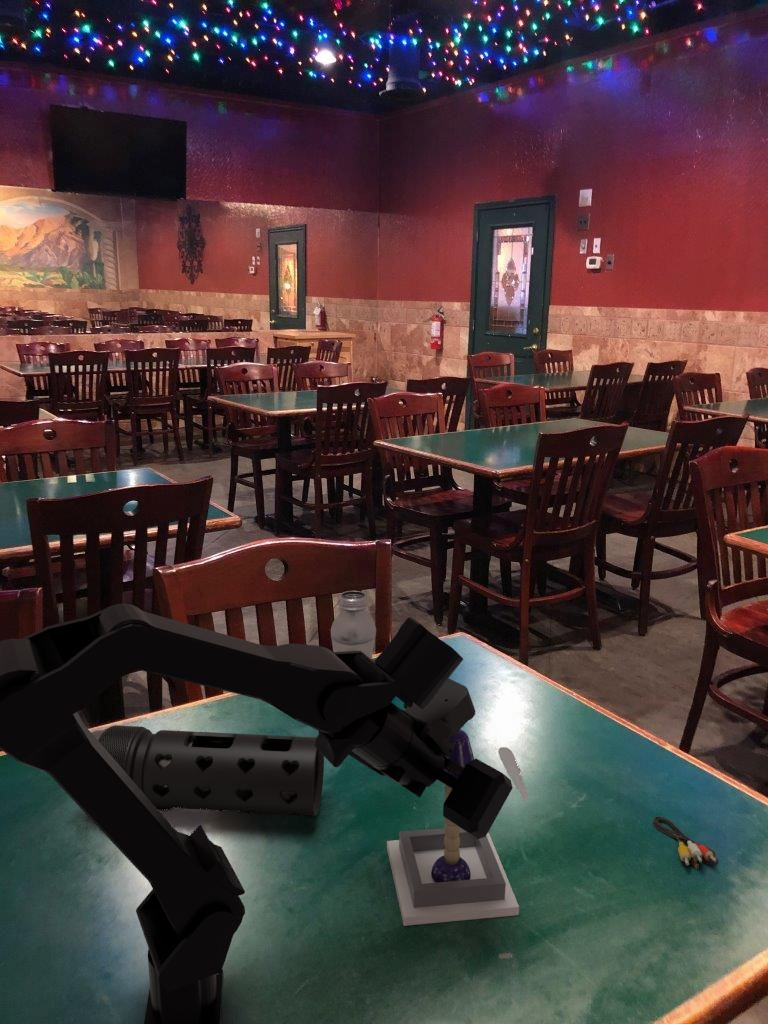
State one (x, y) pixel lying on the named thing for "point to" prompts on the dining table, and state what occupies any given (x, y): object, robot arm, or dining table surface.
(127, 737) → the muzzle brake
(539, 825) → the dining table surface
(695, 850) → the composite cable
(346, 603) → the plastic bottle
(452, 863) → the toy lamp
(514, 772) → the butter knife
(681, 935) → the dining table surface
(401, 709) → the robot arm
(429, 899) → the socket plate
